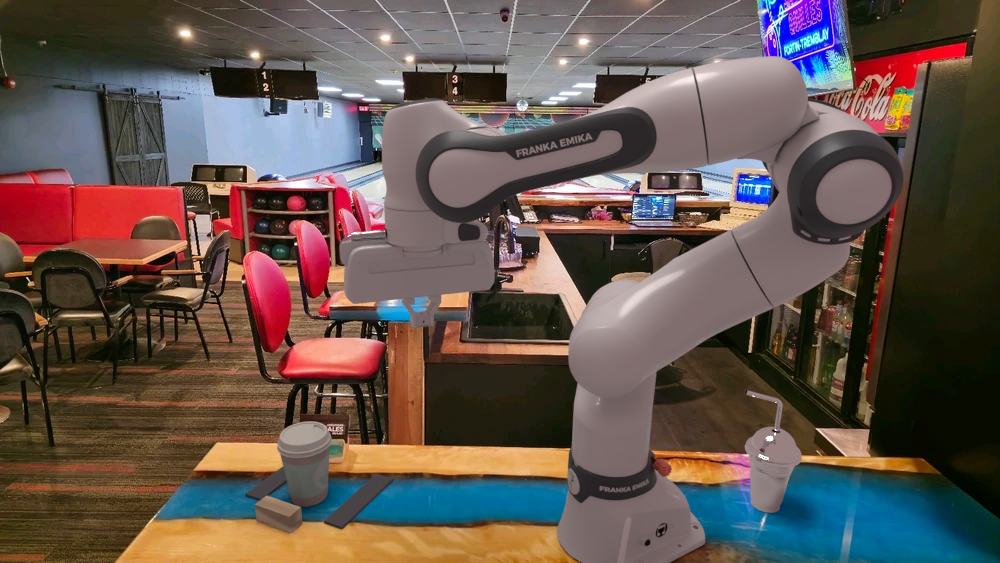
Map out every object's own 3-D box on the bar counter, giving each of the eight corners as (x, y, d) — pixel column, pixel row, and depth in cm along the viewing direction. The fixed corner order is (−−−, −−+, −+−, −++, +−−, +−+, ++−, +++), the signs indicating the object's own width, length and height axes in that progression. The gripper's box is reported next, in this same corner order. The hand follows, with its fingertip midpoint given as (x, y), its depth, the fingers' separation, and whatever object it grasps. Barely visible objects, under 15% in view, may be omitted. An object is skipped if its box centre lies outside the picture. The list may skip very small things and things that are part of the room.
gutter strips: (303, 453, 116) (302, 451, 116) (392, 480, 108) (392, 478, 108) (245, 495, 104) (245, 493, 104) (342, 529, 96) (341, 527, 96)
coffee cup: (320, 516, 99) (314, 450, 96) (272, 508, 101) (265, 443, 97) (344, 484, 107) (340, 422, 104) (300, 477, 109) (294, 416, 105)
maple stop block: (268, 511, 100) (266, 495, 99) (302, 523, 97) (300, 507, 96) (256, 520, 98) (254, 504, 97) (291, 533, 95) (289, 516, 94)
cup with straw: (782, 528, 97) (800, 413, 91) (726, 503, 103) (740, 394, 97) (800, 503, 103) (818, 394, 97) (746, 481, 109) (761, 377, 103)
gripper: (341, 237, 75) (348, 343, 79) (499, 226, 82) (498, 324, 86) (335, 227, 81) (342, 327, 85) (483, 218, 88) (483, 310, 92)
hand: (422, 325), depth 86 cm, fingers closed
